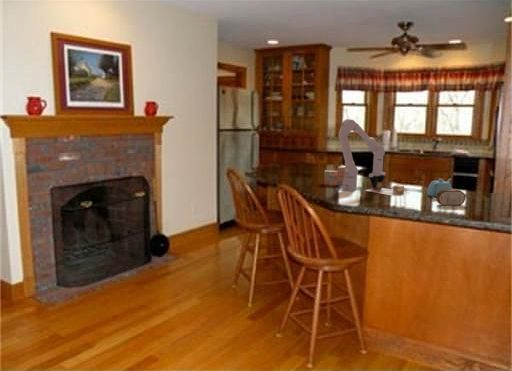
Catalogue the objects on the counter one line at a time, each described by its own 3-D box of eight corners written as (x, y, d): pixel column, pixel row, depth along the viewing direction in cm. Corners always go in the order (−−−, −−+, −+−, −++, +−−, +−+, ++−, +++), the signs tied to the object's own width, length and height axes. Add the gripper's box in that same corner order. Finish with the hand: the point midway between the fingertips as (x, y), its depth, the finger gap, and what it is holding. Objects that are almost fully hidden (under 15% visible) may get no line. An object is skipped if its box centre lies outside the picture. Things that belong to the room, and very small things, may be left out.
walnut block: (381, 189, 275) (382, 182, 274) (377, 190, 272) (377, 183, 271) (375, 188, 278) (376, 181, 278) (371, 189, 275) (371, 182, 275)
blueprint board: (410, 193, 266) (410, 192, 266) (395, 196, 256) (395, 195, 256) (379, 188, 283) (379, 187, 283) (364, 191, 273) (364, 190, 273)
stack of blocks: (323, 185, 294) (324, 167, 292) (324, 183, 300) (324, 165, 298) (356, 186, 290) (357, 168, 288) (356, 184, 296) (357, 166, 294)
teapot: (460, 179, 256) (443, 181, 246) (459, 197, 258) (441, 200, 248) (441, 176, 266) (423, 178, 256) (439, 193, 268) (421, 196, 258)
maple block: (403, 193, 263) (404, 186, 262) (399, 194, 260) (399, 187, 259) (397, 192, 267) (397, 185, 266) (392, 193, 264) (393, 186, 263)
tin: (462, 204, 237) (464, 189, 236) (465, 206, 234) (467, 190, 233) (435, 204, 237) (436, 189, 235) (437, 205, 234) (439, 190, 232)
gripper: (376, 167, 265) (374, 189, 267) (390, 165, 274) (388, 187, 276) (366, 166, 270) (365, 188, 273) (380, 164, 279) (379, 185, 282)
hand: (376, 187), depth 275 cm, fingers closed on walnut block, 4 cm apart
